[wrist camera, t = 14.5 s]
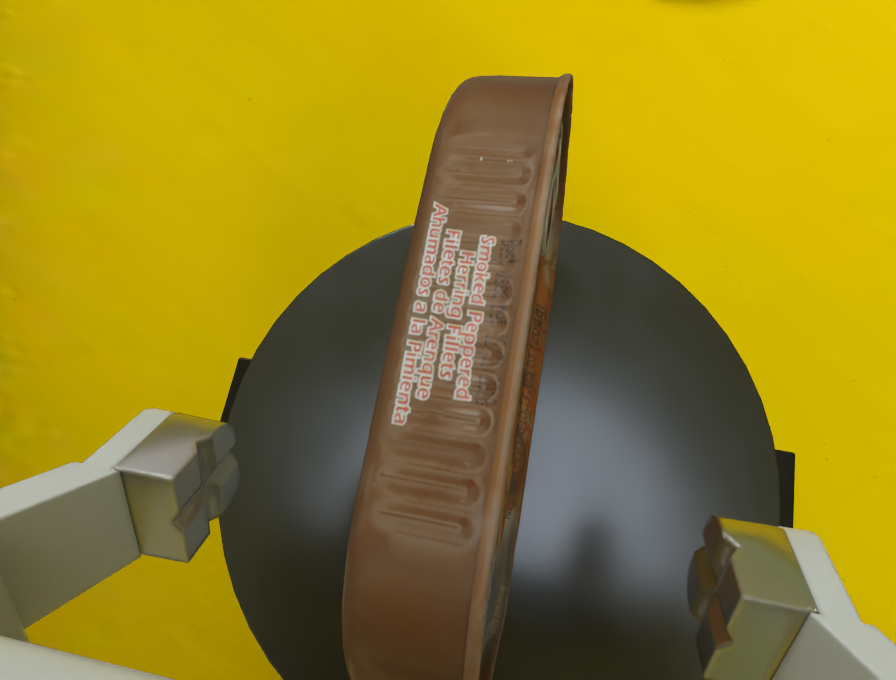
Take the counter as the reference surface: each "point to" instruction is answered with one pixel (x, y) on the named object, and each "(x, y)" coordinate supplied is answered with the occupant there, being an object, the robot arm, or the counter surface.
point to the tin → (459, 390)
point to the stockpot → (548, 475)
